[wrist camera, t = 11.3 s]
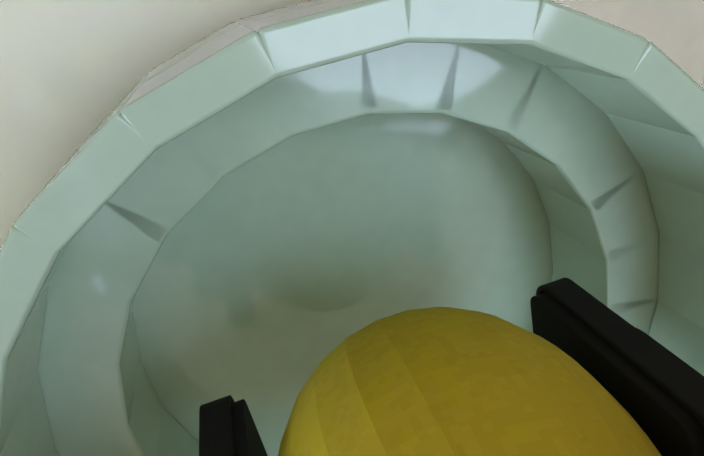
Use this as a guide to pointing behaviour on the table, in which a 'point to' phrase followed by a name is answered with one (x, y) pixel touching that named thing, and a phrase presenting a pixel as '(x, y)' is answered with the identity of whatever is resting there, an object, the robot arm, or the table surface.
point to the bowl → (343, 210)
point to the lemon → (456, 395)
